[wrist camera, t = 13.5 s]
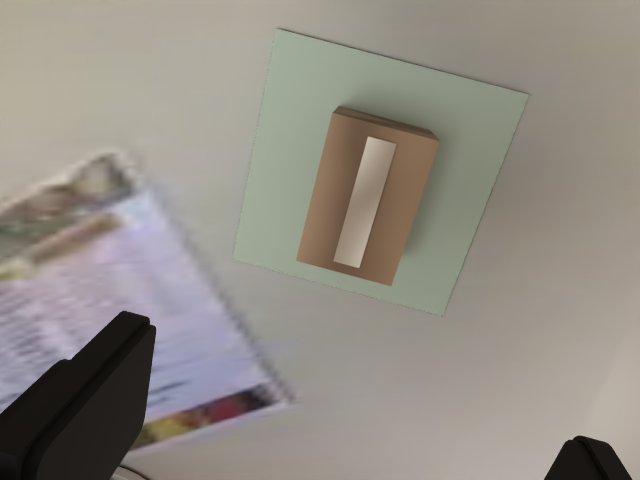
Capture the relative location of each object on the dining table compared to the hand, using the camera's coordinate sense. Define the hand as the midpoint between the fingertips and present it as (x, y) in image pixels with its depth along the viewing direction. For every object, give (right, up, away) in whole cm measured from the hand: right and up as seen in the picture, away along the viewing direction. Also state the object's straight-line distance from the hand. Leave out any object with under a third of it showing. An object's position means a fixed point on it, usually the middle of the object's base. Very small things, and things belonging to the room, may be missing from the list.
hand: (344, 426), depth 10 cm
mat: (+3, +8, +21) cm, 23 cm away
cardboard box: (+3, +8, +21) cm, 23 cm away
